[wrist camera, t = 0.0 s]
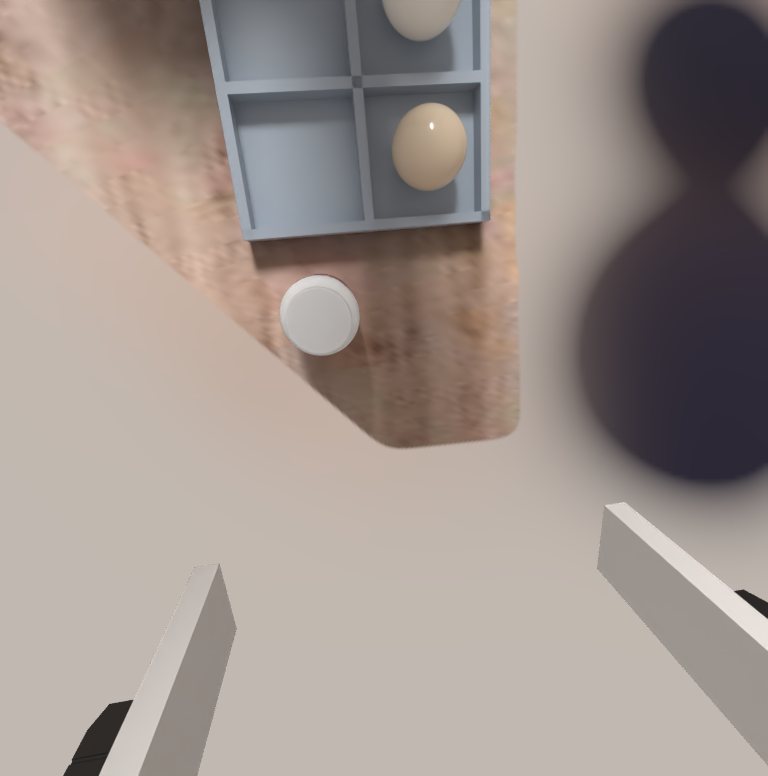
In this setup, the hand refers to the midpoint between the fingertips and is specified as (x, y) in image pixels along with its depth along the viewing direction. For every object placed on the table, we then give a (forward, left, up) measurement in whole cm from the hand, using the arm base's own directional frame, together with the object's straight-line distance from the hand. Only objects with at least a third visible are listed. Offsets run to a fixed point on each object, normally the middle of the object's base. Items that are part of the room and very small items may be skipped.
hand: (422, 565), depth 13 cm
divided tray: (-23, +2, -28) cm, 36 cm away
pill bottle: (-6, -3, -28) cm, 29 cm away
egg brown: (-18, +7, -27) cm, 33 cm away
